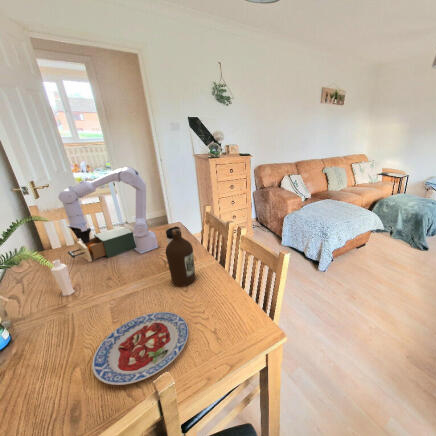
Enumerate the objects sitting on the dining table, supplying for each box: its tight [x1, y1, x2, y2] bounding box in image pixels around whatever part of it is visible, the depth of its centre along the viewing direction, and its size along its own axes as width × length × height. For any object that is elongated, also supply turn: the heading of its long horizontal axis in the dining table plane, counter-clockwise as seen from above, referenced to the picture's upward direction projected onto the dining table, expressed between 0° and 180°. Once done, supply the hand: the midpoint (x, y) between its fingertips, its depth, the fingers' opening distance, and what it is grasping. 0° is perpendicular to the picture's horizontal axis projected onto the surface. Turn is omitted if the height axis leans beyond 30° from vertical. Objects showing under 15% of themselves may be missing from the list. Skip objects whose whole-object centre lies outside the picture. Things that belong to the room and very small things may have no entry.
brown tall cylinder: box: [165, 226, 182, 245], centre depth 113 cm, size 6×7×20 cm
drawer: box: [67, 236, 107, 263], centre depth 119 cm, size 17×10×8 cm, turn 145°
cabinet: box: [93, 226, 137, 259], centre depth 127 cm, size 14×12×10 cm
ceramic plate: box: [91, 311, 189, 386], centre depth 75 cm, size 26×26×3 cm
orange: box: [87, 243, 97, 253], centre depth 120 cm, size 5×5×5 cm
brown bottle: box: [165, 228, 196, 288], centre depth 102 cm, size 11×11×25 cm
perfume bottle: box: [50, 259, 76, 297], centre depth 94 cm, size 5×4×15 cm
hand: (83, 240), depth 116 cm, fingers open, 7 cm apart
